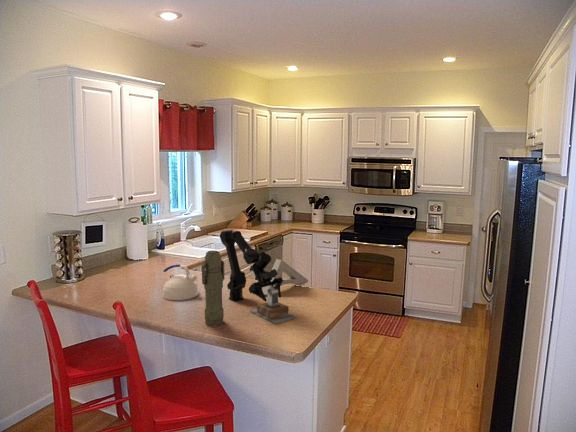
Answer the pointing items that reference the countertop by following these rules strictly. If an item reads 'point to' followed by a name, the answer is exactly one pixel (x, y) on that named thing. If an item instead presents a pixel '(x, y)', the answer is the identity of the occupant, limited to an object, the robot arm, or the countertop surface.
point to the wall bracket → (283, 267)
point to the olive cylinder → (213, 287)
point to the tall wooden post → (272, 298)
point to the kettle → (180, 286)
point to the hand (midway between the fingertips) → (273, 299)
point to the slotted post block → (274, 313)
